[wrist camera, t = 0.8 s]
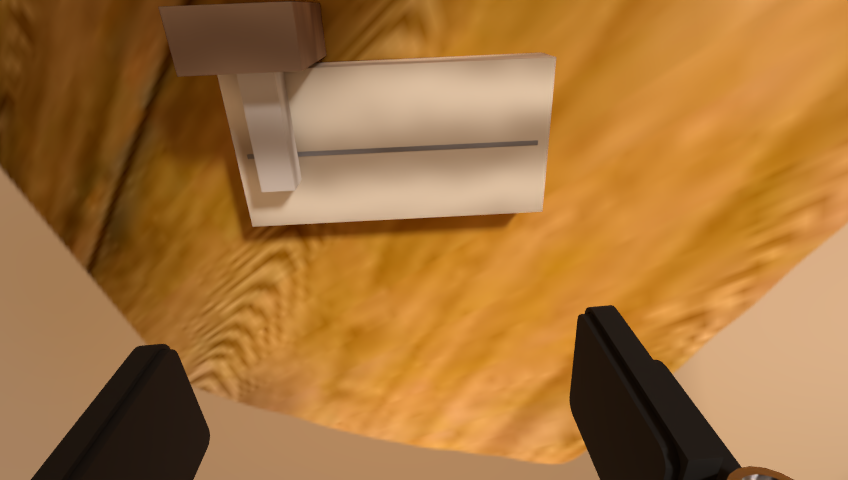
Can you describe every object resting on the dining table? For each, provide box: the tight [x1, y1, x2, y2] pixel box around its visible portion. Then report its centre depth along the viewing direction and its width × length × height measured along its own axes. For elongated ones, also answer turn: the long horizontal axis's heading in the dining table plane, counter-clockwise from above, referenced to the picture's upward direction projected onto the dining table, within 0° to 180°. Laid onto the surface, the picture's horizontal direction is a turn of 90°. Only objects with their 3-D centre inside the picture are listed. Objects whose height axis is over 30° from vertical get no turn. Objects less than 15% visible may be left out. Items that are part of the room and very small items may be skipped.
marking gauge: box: [159, 1, 326, 192], centre depth 26 cm, size 10×6×8 cm, turn 2°
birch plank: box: [217, 53, 556, 227], centre depth 30 cm, size 10×20×3 cm, turn 92°
